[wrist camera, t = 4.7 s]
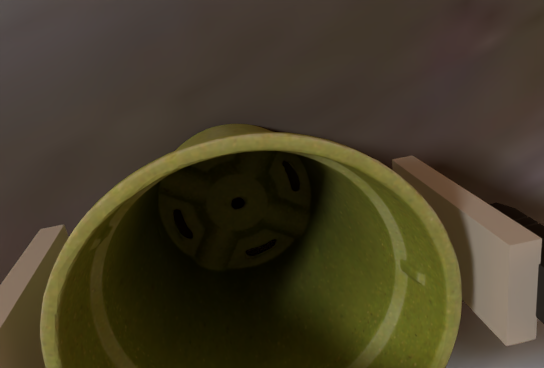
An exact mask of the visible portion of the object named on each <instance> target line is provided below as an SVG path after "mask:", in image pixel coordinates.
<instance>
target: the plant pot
mask: <svg viewBox="0 0 544 368" xmlns="http://www.w3.org/2000/svg"><path fill="white" fill-rule="evenodd" d="M283 161H285V162H288V163H289V164H290V165H291V166H292V168H293V169H294V170H295V171H296V174H297V175H298V179H299V182H300V185H299V190H298V191H295V192H294V191H293V190H292V189H291V184H290V181H289V178H288V175H287V172H286V171H285V167H284V166H283V165H282V162H283ZM237 197H240V198H242V199H243V200H244V201H245V203H244V206H243V207H242V208H240V209H234V208H233V207H232V206H231V202H232V200H233V199H235V198H237ZM175 209H178V210H181V213H182V216H183V218H184V221H185V223H186V225H187V227H188V228H189V229H190V230H191V231H192V233H193V238H191V239H189V238H186V237H184V236H183V235H182V234H181V233H180V231H179V229H178V227H177V225H176V223H175V221H174V217H173V212H174V210H175ZM273 239H275V240H276V242H275V245H274V246H273V247H272V248H270V249H268V250H266V251H264V252H262V253H260V254H258V255H255V256H250V255H247V254H246V253H245V252H246V251H247V250H249V249H251V248H255V247H260V246H262V245H264V244H267V243H268V242H269V241H271V240H273ZM461 309H462V286H461V274H460V269H459V263H458V260H457V256H456V253H455V250H454V248H453V245H452V243H451V241H450V239H449V236H448V233H447V231H446V229H445V227H444V225H443V224H442V222H441V220H440V218H439V217H438V216H437V214H436V212H435V211H434V210H433V208H432V207H431V206H430V205H429V204H428V202H427V201H426V200H425V199H424V198H423V197H422V195H421V194H420V193H419V192H418V191H417V190H416V189H415V188H414V187H413V186H411V185H410V184H409V183H408V182H407V181H406V180H405V179H403V178H402V177H401V176H400V175H399V174H397V173H396V172H394V171H393V170H391V169H390V168H388V167H387V166H385V165H384V164H382V163H381V162H379V161H378V160H375V159H373V158H371V157H369V156H367V155H365V154H364V153H362V152H360V151H357V150H355V149H353V148H350V147H348V146H345V145H342V144H339V143H336V142H333V141H330V140H327V139H322V138H317V137H313V136H308V135H302V134H294V133H284V132H272V131H270V130H267V129H265V128H262V127H258V126H254V125H249V124H227V125H220V126H216V127H212V128H209V129H206V130H204V131H202V132H200V133H198V134H196V135H194V136H193V137H191V138H190V139H188V140H187V141H186V142H184V143H183V144H182V145H181V146H179V147H178V148H177V149H176V150H175V151H174V152H171V153H169V154H166V155H165V156H163V157H161V158H159V159H157V160H155V161H153V162H151V163H149V164H147V165H145V166H144V167H142V168H140V169H139V170H137V171H136V172H134V173H132V174H131V175H129V176H128V177H126V178H125V179H124V180H122V181H121V182H120V183H118V184H117V185H116V186H115V187H114V188H112V189H111V190H110V191H109V192H108V193H107V194H105V195H104V196H103V197H102V198H101V199H100V200H99V201H98V202H97V203H96V204H95V205H94V206H93V207H92V208H91V209H90V210H89V212H88V213H87V214H86V215H85V216H84V217H83V219H82V220H81V221H80V222H79V224H78V225H77V226H76V228H75V229H74V230H73V232H72V233H71V235H70V236H69V238H68V240H67V241H66V243H65V244H64V246H63V248H62V250H61V252H60V254H59V256H58V258H57V260H56V262H55V264H54V267H53V269H52V271H51V274H50V277H49V280H48V283H47V286H46V290H45V293H44V296H43V303H42V310H41V322H40V340H41V347H42V353H43V359H44V363H45V367H46V368H445V367H446V365H447V363H448V361H449V358H450V355H451V353H452V350H453V347H454V344H455V341H456V338H457V334H458V330H459V325H460V319H461Z"/></svg>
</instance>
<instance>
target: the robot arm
mask: <svg viewBox="0 0 544 368" xmlns="http://www.w3.org/2000/svg"><path fill="white" fill-rule="evenodd" d="M392 170H393V171H394V172H396V173H397V174H399V175H400V176H401V177H402V178H403V179H405V180H406V181H407V182H408V183H409V184H410V185H411V186H413V187H414V188H415V189H416V190H417V191H418V192H419V193H420V194H421V195H422V197H423V198H424V199H425V200H426V201H427V202H428V204H429V205H430V206H431V207H432V208H433V210H434V211H435V212H436V214H437V216H438V217H439V218H440V220H441V222H442V224H443V225H444V227H445V229H446V231H447V233H448V236H449V239H450V241H451V243H452V245H453V248H454V250H455V253H456V256H457V260H458V263H459V269H460V274H461V286H462V300H463V301H464V302H465V303H466V304H467V305H468V306H469V307H470V308H471V309H472V310H473V312H474V313H475V314H476V315H477V316H478V317H479V318H480V319H481V320H482V321H483V322H484V323H485V324H486V325H487V326H488V327H489V328H490V330H491V331H492V332H493V333H494V334H495V335H496V336H497V337H498V338H499V339H500V340H501V341H502V342H503V343H504V344H505V345H506V346H510V345H514V344H518V343H522V342H526V341H531V340H535V339H536V330H537V318H538V319H539V320H540V321H542V322H543V323H544V226H543V225H541V224H538V223H537V222H536V221H535V220H533V219H531V218H530V217H528V218H527V216H526V215H525V214H523V213H521V212H520V211H518V210H516V209H515V208H512V207H509V206H505V205H502V204H499V203H493V204H487V203H486V202H484V201H483V200H481V199H480V198H478V197H476V196H475V195H473V194H472V193H470V192H469V191H467V190H466V189H464V188H462V187H461V186H459V185H458V184H456V183H455V182H453V181H452V180H450V179H448V178H447V177H445V176H444V175H442V174H441V173H439V172H437V171H436V170H434V169H433V168H431V167H430V166H428V165H427V164H425V163H423V162H422V161H420V160H419V159H417V158H416V157H414V156H413V155H412V156H407V157H402V158H397V159H392ZM68 238H69V237H68V234H67V232H66V229H65V226H64V225H59V226H54V227H49V228H44V229H40V230H39V232H38V233H37V234H36V236H35V237H34V239H33V240H32V241H31V243H30V244H29V246H28V247H27V248H26V250H25V251H24V253H23V254H22V255H21V257H20V258H19V260H18V261H17V262H16V264H15V265H14V267H13V268H12V269H11V271H10V272H9V274H8V275H7V276H6V278H5V279H4V281H3V282H2V283H1V285H0V368H46V367H45V363H44V359H43V353H42V347H41V340H40V322H41V310H42V303H43V296H44V293H45V290H46V286H47V283H48V280H49V277H50V274H51V271H52V269H53V267H54V264H55V262H56V260H57V258H58V256H59V254H60V252H61V250H62V248H63V246H64V244H65V243H66V241H67V240H68Z"/></svg>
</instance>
